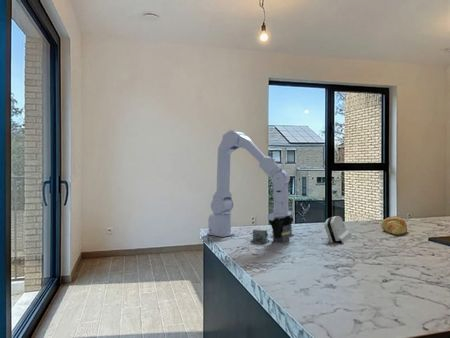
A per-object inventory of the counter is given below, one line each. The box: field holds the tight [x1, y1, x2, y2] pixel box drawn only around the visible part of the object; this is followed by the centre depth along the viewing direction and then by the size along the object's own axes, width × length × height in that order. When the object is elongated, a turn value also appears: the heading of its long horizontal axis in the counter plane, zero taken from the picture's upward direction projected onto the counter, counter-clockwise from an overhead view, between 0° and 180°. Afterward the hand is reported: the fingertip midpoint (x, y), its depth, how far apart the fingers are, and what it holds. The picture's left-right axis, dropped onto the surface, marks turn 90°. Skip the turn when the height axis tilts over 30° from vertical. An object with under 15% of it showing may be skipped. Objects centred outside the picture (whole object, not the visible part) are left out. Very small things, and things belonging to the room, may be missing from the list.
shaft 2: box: [271, 224, 295, 237], centre depth 150 cm, size 8×6×4 cm
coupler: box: [272, 224, 290, 243], centre depth 140 cm, size 5×5×6 cm
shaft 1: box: [250, 228, 270, 244], centre depth 140 cm, size 8×6×4 cm
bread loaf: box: [380, 215, 408, 236], centre depth 156 cm, size 21×10×8 cm, turn 161°
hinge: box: [324, 215, 352, 245], centre depth 142 cm, size 17×5×10 cm, turn 151°
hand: (281, 236), depth 140 cm, fingers closed on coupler, 5 cm apart
